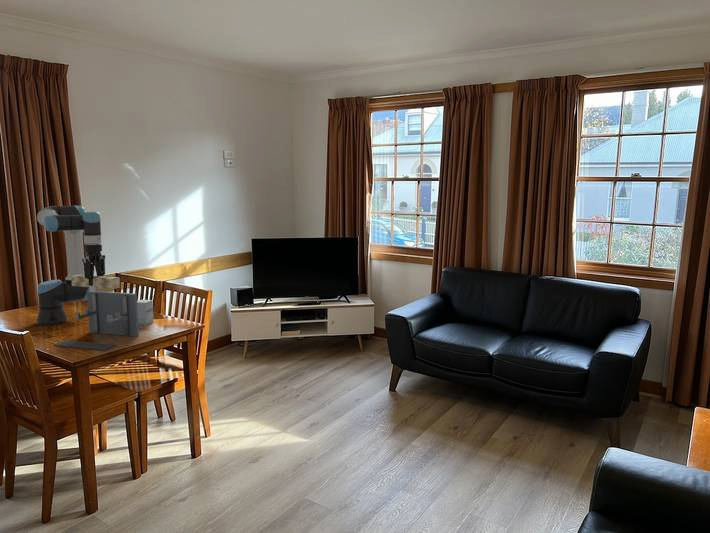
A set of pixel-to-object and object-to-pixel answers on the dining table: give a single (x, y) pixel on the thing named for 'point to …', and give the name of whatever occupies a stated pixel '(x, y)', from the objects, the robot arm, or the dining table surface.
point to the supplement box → (145, 311)
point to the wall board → (113, 312)
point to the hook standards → (109, 317)
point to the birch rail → (96, 281)
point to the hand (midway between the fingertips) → (96, 290)
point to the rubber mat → (85, 345)
